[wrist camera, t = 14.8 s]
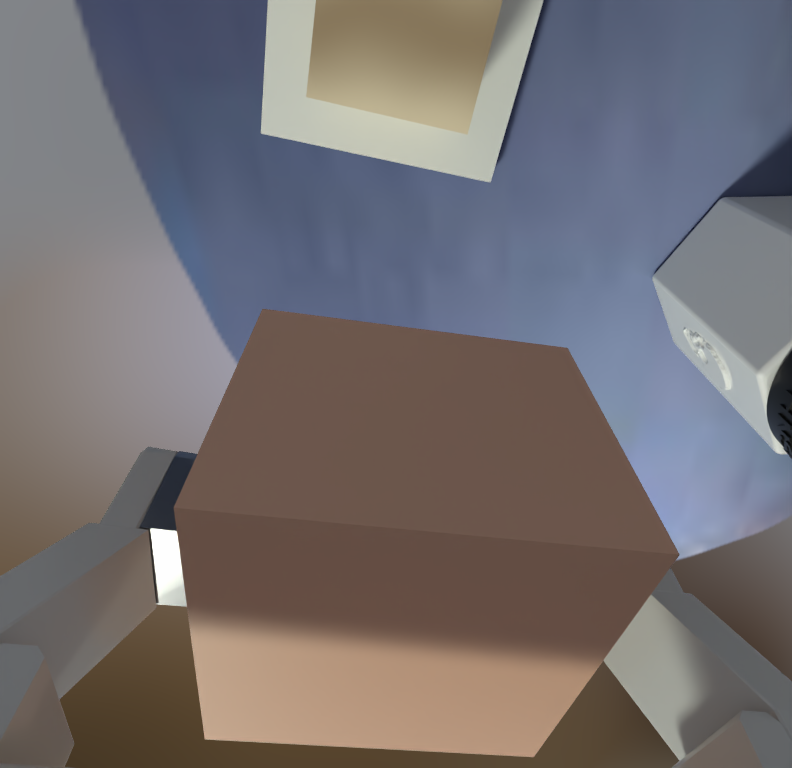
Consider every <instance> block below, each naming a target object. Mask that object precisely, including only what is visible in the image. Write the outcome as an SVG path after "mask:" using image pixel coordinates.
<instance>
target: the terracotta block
mask: <svg viewBox="0 0 792 768" xmlns="http://www.w3.org/2000/svg"><path fill="white" fill-rule="evenodd" d="M174 514H175V522H176V529H177V536H178V544H179V551H180V559H181V566H182V573H183V581H184V588H185V596H186V603H187V609H188V617H189V625H190V633H191V640H192V647H193V654H194V662H195V669H196V677H197V684H198V691H199V699H200V706H201V714H202V721H203V729H204V736H205V739H209V740H228V741H247V742H265V743H283V744H303V745H321V746H340V747H358V748H376V749H377V748H378V749H395V750H414V751H432V752H433V751H434V752H451V753H470V754H488V755H506V756H526V757H534V756H535V754H536V753H537V752H538V750H539V749H540V747H541V746H542V745H543V743H544V742H545V740H546V739H547V738H548V736H549V735H550V734H551V732H552V731H553V729H554V728H555V727H556V725H557V724H558V722H559V721H560V719H561V718H562V717H563V716H564V714H565V713H566V711H567V710H568V708H569V707H570V706H571V704H572V703H573V702H574V700H575V699H576V698H577V696H578V695H579V693H580V692H581V691H582V689H583V688H584V686H585V685H586V684H587V682H588V681H589V680H590V678H591V677H592V675H593V674H594V673H595V671H596V669H597V668H598V667H599V666H600V664H601V663H602V662H603V660H604V659H605V657H606V656H607V655H608V653H609V652H610V650H611V649H612V648H613V646H614V645H615V644H616V642H617V641H618V639H619V638H620V637H621V635H622V634H623V632H624V631H625V630H626V628H627V627H628V625H629V624H630V623H631V621H632V620H633V619H634V617H635V616H636V614H637V613H638V612H639V610H640V609H641V607H642V606H643V605H644V603H645V602H646V601H647V599H648V598H649V596H650V595H651V594H652V592H653V591H654V589H655V588H656V587H657V585H658V584H659V583H660V581H661V580H662V578H663V577H664V576H665V574H666V573H667V571H668V570H669V569H670V567H671V566H672V565H673V563H674V562H675V560H676V559H677V558H678V556H679V553H678V551H677V549H676V547H675V545H674V543H673V542H672V540H671V538H670V536H669V534H668V532H667V531H666V529H665V527H664V525H663V523H662V521H661V520H660V518H659V516H658V514H657V512H656V510H655V508H654V507H653V505H652V503H651V501H650V499H649V497H648V496H647V494H646V492H645V490H644V488H643V486H642V484H641V483H640V481H639V479H638V477H637V475H636V473H635V472H634V470H633V468H632V466H631V464H630V462H629V461H628V459H627V457H626V455H625V453H624V451H623V449H622V448H621V446H620V444H619V442H618V440H617V438H616V437H615V435H614V433H613V431H612V429H611V427H610V426H609V424H608V422H607V420H606V418H605V416H604V414H603V413H602V411H601V409H600V407H599V405H598V403H597V402H596V400H595V398H594V396H593V394H592V392H591V390H590V389H589V387H588V385H587V383H586V381H585V379H584V378H583V376H582V374H581V372H580V370H579V368H578V367H577V365H576V363H575V361H574V359H573V357H572V355H571V354H570V352H569V350H568V348H564V347H556V346H548V345H540V344H533V343H525V342H517V341H509V340H501V339H494V338H486V337H478V336H470V335H462V334H455V333H447V332H439V331H431V330H424V329H416V328H408V327H400V326H392V325H385V324H377V323H369V322H361V321H354V320H346V319H338V318H330V317H322V316H315V315H307V314H299V313H291V312H284V311H276V310H268V309H262V311H261V314H260V316H259V318H258V320H257V322H256V325H255V327H254V329H253V331H252V334H251V336H250V338H249V340H248V343H247V345H246V347H245V349H244V352H243V354H242V356H241V358H240V360H239V363H238V365H237V367H236V369H235V372H234V374H233V376H232V378H231V381H230V383H229V385H228V388H227V390H226V392H225V394H224V396H223V398H222V401H221V403H220V405H219V407H218V410H217V412H216V414H215V417H214V419H213V421H212V423H211V426H210V428H209V430H208V432H207V434H206V437H205V439H204V441H203V443H202V445H201V448H200V450H199V452H198V454H197V457H196V459H195V461H194V463H193V466H192V468H191V470H190V472H189V474H188V477H187V479H186V481H185V483H184V486H183V488H182V490H181V492H180V495H179V497H178V499H177V501H176V504H175V506H174Z"/></svg>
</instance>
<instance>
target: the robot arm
mask: <svg viewBox="0 0 792 768" xmlns="http://www.w3.org/2000/svg"><path fill="white" fill-rule="evenodd" d="M196 457H197V454H193V453H188V452H181V451H179V452H177V451H171V450H165V449H159V448H152V447H147V448H146V449H145V450H144V451H143V452H141V453H140V455H139V457H138V459H137V460H136V462H135V464H134V465H133V467H132V469H131V470H130V472H129V474H128V476H127V477H126V479H125V481H124V483H123V484H122V486H121V488H120V489H119V491H118V493H117V494H116V496H115V498H114V500H113V501H112V503H111V505H110V506H109V508H108V510H107V512H106V513H105V515H104V517H103V518H102V520H101V522H100V523H99V524H97V523H88V524H86V525H85V526H83V527H81V528H80V529H78V530H76V531H75V532H73V533H71V534H70V535H68V536H66V537H65V538H63V539H61V540H60V541H58V542H56V543H55V544H53V545H51V546H50V547H48V548H47V549H45V550H43V551H41V552H40V553H38V554H37V555H35V556H33V557H32V558H30V559H28V560H27V561H25V562H23V563H22V564H20V565H18V566H17V567H15V568H13V569H12V570H10V571H8V572H7V573H5V574H3V575H2V576H0V768H67V767H65V764H66V762H67V760H68V757H69V755H70V752H71V750H72V748H73V745H74V742H73V739H72V736H71V733H70V730H69V727H68V724H67V721H66V718H65V715H64V712H63V709H62V707H61V704H60V701H59V699H60V698H61V697H62V696H63V695H64V694H65V693H67V692H68V691H69V690H70V689H71V688H72V687H73V686H74V685H75V684H76V683H77V682H78V681H79V680H80V679H81V678H82V677H83V676H85V675H86V674H87V673H88V672H89V671H90V670H91V669H92V668H93V667H94V666H95V665H96V664H97V663H98V662H99V661H100V660H101V659H103V658H104V657H105V656H106V655H107V654H108V653H109V652H110V651H111V650H112V649H113V648H114V647H115V646H116V645H117V644H118V643H119V642H120V641H122V639H124V638H125V637H126V636H127V635H128V634H129V633H130V632H131V631H132V630H133V629H134V628H135V627H136V626H138V625H139V624H140V623H141V622H142V621H143V620H144V619H145V618H146V617H147V616H148V615H149V614H150V613H151V612H152V611H153V610H154V609H156V604H161V605H174V606H187V603H186V596H185V588H184V581H183V573H182V566H181V559H180V551H179V544H178V536H177V529H176V522H175V514H174V506H175V504H176V501H177V499H178V497H179V495H180V492H181V490H182V488H183V486H184V483H185V481H186V479H187V477H188V474H189V472H190V470H191V468H192V466H193V463H194V461H195V459H196ZM603 661H604V662H605V663H606V665H607V666H608V667H609V668H610V670H611V671H612V672H613V674H614V675H615V676H616V677H617V679H618V680H619V682H620V683H621V684H622V686H623V687H624V688H625V689H626V691H627V692H628V693H629V695H630V696H631V697H632V699H633V700H634V701H635V703H636V704H637V705H638V707H639V708H640V709H641V710H642V712H643V713H644V714H645V716H646V717H647V718H648V720H649V721H650V722H651V724H652V725H653V726H654V727H655V729H656V730H657V731H658V733H659V734H660V735H661V737H662V738H663V739H664V741H665V742H666V743H667V745H668V746H669V747H670V749H671V750H672V751H673V752H674V754H675V755H676V756H677V758H678V759H679V760H680V761H679V762H678V763H677V764H676V765H675V766H673V767H672V768H792V681H791V680H789V679H788V678H787V677H786V676H785V675H784V674H783V673H781V672H780V671H779V670H778V669H777V668H776V667H775V666H773V665H772V664H771V663H770V662H769V661H768V660H766V659H765V658H764V657H763V656H762V655H761V654H760V653H759V652H757V651H756V650H755V649H754V648H753V647H752V646H751V645H749V644H748V643H747V642H746V641H745V640H744V639H742V638H741V637H740V636H739V635H738V634H737V633H735V631H733V630H732V629H731V628H730V627H729V626H728V625H727V624H725V623H724V622H723V621H722V620H721V619H720V618H719V617H717V616H716V615H715V614H714V613H713V612H712V611H710V610H709V609H708V608H707V607H706V606H705V605H703V604H702V603H701V602H700V601H699V600H698V599H697V598H696V597H694V596H693V595H692V594H687V593H683V591H682V589H681V587H680V585H679V583H678V581H677V579H676V577H675V575H674V573H673V571H672V570H671V568H670V569H669V570H668V571H667V573H666V574H665V576H664V577H663V578H662V580H661V581H660V583H659V584H658V585H657V587H656V588H655V589H654V591H653V592H652V594H651V595H650V596H649V598H648V599H647V601H646V602H645V603H644V605H643V606H642V607H641V609H640V610H639V612H638V613H637V614H636V616H635V617H634V619H633V620H632V621H631V623H630V624H629V625H628V627H627V628H626V630H625V631H624V632H623V634H622V635H621V637H620V638H619V639H618V641H617V642H616V644H615V645H614V646H613V648H612V649H611V650H610V652H609V653H608V655H607V656H606V657H605V659H604V660H603Z"/></svg>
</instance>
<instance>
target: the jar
mask: <svg viewBox="0 0 792 768" xmlns="http://www.w3.org/2000/svg"><path fill="white" fill-rule="evenodd" d="M652 279H653V283H654V286H655V288H656V291H657V294H658V297H659V300H660V303H661V306H662V309H663V312H664V315H665V318H666V321H667V324H668V327H669V330H670V332H671V335H672V338H673V341H674V343H675V344H676V345H677V347H678V348H679V349H680V350H681V351H682V352H683V353H684V354H685V355H686V356H687V357H688V358H689V359H690V361H691V362H692V363H693V364H694V365H695V366H696V367H697V368H698V369H699V370H700V371H701V372H702V373H703V375H704V376H705V377H706V378H707V379H708V380H709V381H710V382H711V383H712V384H713V385H714V386H715V388H716V389H717V390H718V391H719V392H720V393H721V394H722V395H723V396H724V397H725V398H726V399H727V400H728V402H729V403H730V404H731V405H732V406H733V407H734V408H735V409H736V410H737V411H738V412H739V413H740V414H741V416H742V417H743V418H744V419H745V420H746V421H747V422H748V423H749V424H750V425H751V426H752V427H753V429H754V430H755V431H756V432H757V433H758V434H759V435H760V436H761V437H762V438H763V439H764V440H765V441H766V443H767V444H768V445H769V446H770V447H771V448H772V449H773V450H774V451H775V452H776V453H778V454H788V455H789V456H790V458H791V459H792V196H763V197H724V198H721V199H720V200H719V201H718V202H717V203H716V204H715V205H714V206H713V208H712V209H711V210H710V211H709V212H708V213H707V214H706V216H705V217H704V218H703V219H702V220H701V221H700V223H699V224H698V225H697V226H696V227H695V228H694V229H693V231H692V232H691V233H690V234H689V235H688V236H687V237H686V239H685V240H684V241H683V242H682V243H681V244H680V245H679V247H678V248H677V249H676V250H675V251H674V252H673V253H672V255H671V256H670V257H669V258H668V259H667V260H666V261H665V263H664V264H663V265H662V266H661V267H660V268H659V269H658V270H657V272H656V273H655V274H654V275H653V278H652Z"/></svg>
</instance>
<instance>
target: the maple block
mask: <svg viewBox="0 0 792 768" xmlns="http://www.w3.org/2000/svg"><path fill="white" fill-rule="evenodd" d="M502 1H503V0H316V5H315V15H314V24H313V34H312V44H311V54H310V64H309V74H308V84H307V94H306V97H308V98H312V99H317V100H321V101H325V102H330V103H334V104H338V105H342V106H347V107H351V108H355V109H360V110H364V111H368V112H372V113H377V114H381V115H385V116H390V117H394V118H398V119H402V120H407V121H411V122H415V123H420V124H424V125H428V126H432V127H437V128H441V129H445V130H450V131H454V132H458V133H462V134H467V135H468V131H469V127H470V123H471V119H472V115H473V112H474V108H475V104H476V100H477V96H478V93H479V89H480V85H481V81H482V77H483V73H484V70H485V66H486V62H487V58H488V54H489V51H490V47H491V43H492V39H493V35H494V31H495V28H496V24H497V20H498V16H499V12H500V8H501V5H502Z"/></svg>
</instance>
